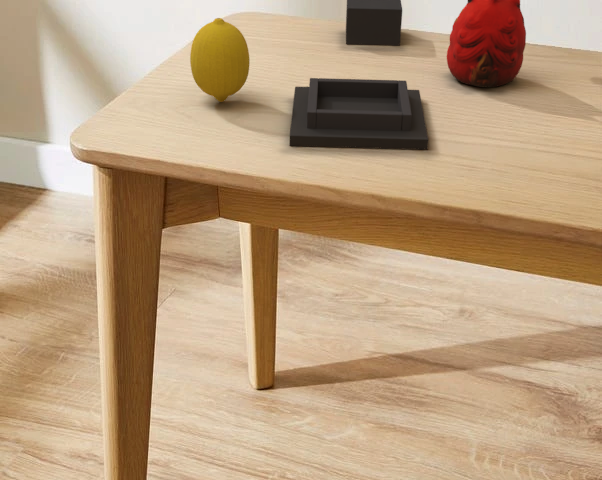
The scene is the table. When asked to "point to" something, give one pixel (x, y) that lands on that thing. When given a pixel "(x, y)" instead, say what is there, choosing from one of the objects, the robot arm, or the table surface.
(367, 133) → the socket pad
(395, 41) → the plug pad
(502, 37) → the red clay folk toy
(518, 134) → the table surface
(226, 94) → the lemon
